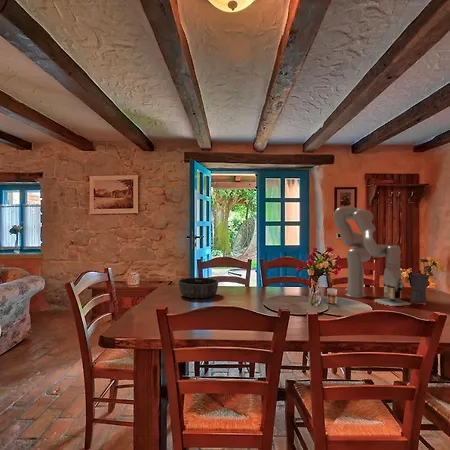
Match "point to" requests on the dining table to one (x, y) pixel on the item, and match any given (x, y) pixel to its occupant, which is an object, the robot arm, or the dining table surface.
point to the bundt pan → (198, 287)
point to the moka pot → (418, 287)
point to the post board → (391, 302)
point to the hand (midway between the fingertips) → (392, 296)
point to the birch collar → (390, 292)
